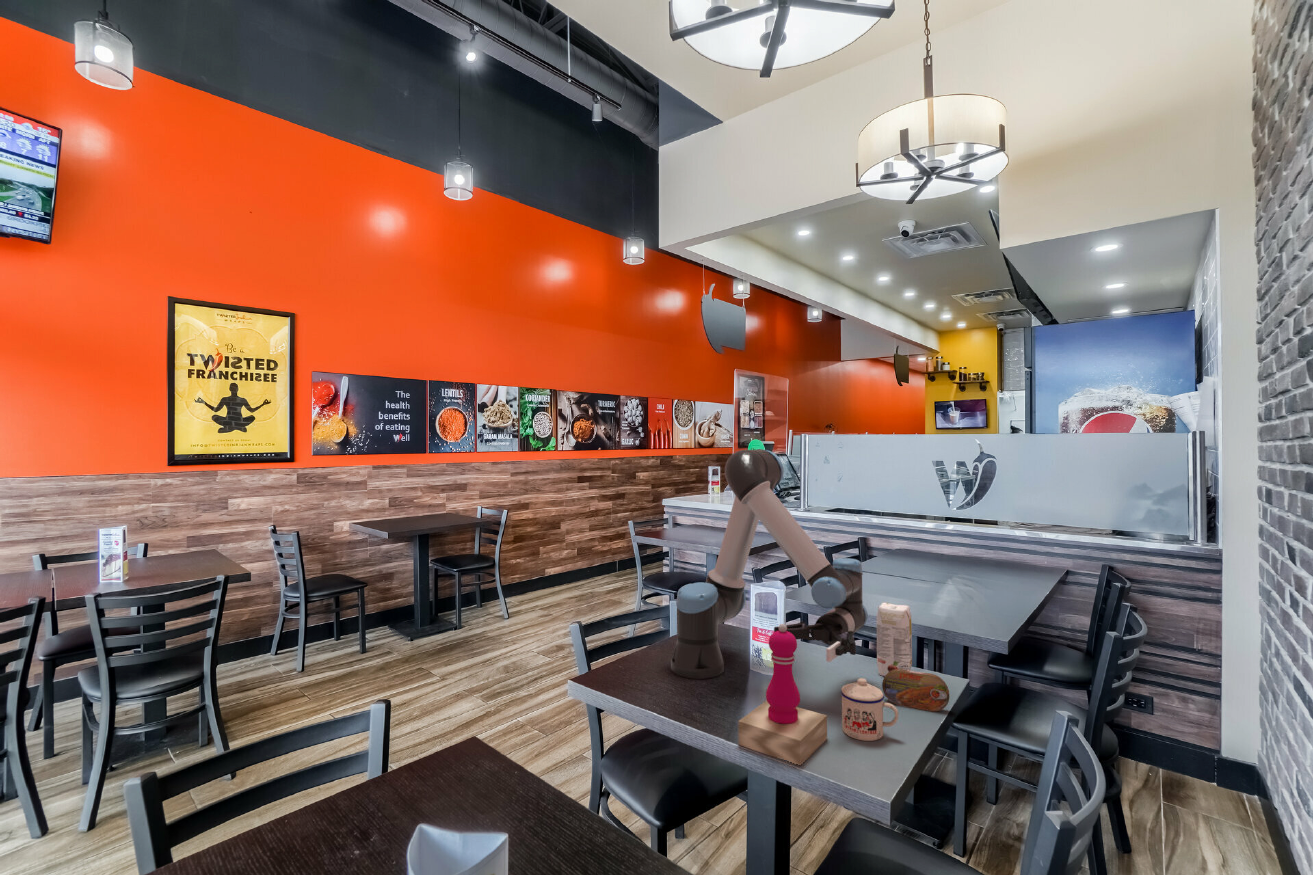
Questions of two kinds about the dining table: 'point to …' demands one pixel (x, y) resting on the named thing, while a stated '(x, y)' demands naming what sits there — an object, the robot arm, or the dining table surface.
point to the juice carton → (894, 638)
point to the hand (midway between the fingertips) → (799, 649)
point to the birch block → (783, 734)
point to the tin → (916, 690)
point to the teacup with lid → (864, 711)
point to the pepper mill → (782, 678)
